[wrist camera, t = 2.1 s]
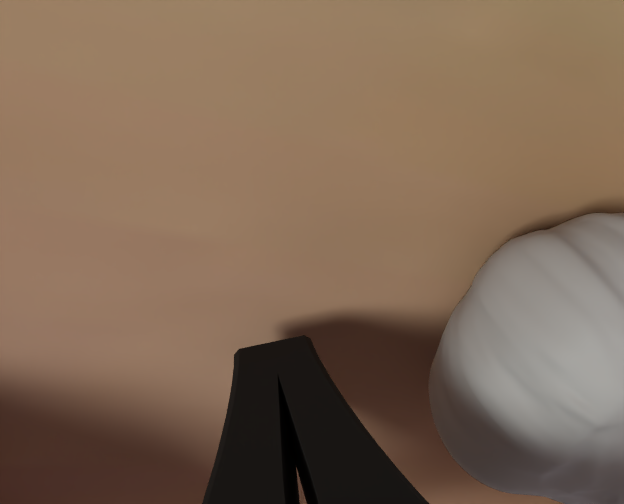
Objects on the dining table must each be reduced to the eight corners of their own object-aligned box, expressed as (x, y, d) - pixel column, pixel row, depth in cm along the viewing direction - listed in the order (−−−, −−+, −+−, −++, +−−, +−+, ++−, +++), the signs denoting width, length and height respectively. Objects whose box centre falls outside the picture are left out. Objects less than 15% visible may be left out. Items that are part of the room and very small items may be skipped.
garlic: (475, 409, 14) (599, 638, 10) (347, 305, 11) (446, 567, 7) (689, 266, 13) (944, 466, 8) (605, 102, 10) (931, 283, 5)
